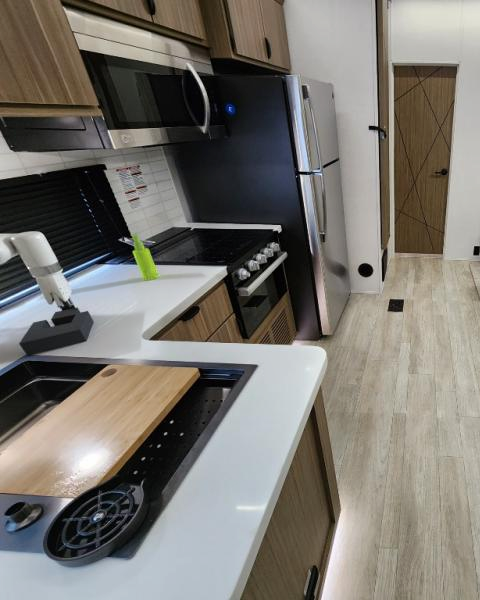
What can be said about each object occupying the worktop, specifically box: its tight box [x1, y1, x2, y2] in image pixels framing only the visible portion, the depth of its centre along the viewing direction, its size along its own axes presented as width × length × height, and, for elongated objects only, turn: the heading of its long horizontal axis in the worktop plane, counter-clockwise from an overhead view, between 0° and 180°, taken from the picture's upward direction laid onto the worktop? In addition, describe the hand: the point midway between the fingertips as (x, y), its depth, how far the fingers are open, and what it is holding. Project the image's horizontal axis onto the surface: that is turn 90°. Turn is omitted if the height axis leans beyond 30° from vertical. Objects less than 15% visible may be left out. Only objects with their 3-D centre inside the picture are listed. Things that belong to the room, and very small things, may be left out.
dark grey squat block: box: [50, 307, 81, 327], centre depth 114 cm, size 6×6×4 cm
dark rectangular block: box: [18, 310, 94, 356], centre depth 107 cm, size 14×14×4 cm
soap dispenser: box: [130, 233, 160, 281], centre depth 146 cm, size 6×7×20 cm
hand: (72, 315), depth 119 cm, fingers closed
